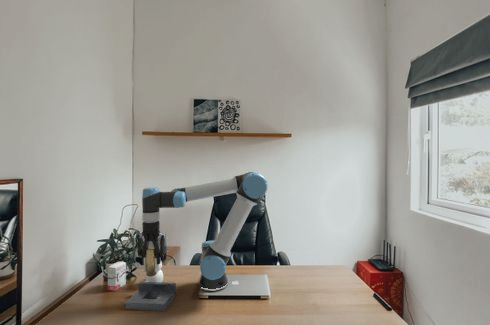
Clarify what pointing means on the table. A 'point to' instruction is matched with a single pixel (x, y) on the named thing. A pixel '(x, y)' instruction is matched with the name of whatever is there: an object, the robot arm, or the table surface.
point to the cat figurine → (156, 276)
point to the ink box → (116, 276)
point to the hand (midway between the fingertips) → (151, 270)
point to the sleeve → (150, 261)
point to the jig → (152, 296)
